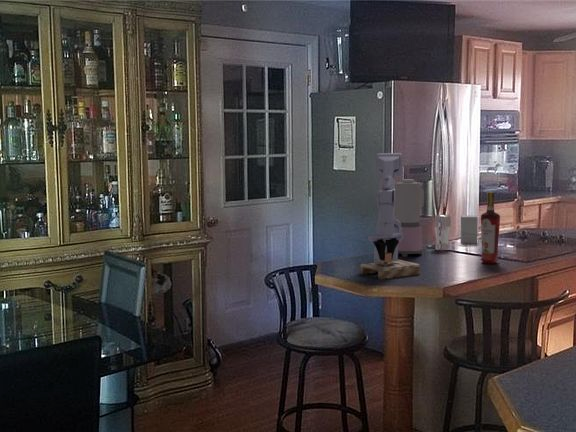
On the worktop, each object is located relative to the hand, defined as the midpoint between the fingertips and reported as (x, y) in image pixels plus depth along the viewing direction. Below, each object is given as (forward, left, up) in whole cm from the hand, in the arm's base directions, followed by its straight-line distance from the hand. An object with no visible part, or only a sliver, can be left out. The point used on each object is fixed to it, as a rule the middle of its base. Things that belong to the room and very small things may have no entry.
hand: (385, 259), depth 259 cm
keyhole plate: (0, +2, -6) cm, 6 cm away
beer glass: (-32, +55, -6) cm, 64 cm away
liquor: (+4, +48, -6) cm, 48 cm away
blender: (-30, +36, -6) cm, 47 cm away
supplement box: (-40, +79, -6) cm, 89 cm away
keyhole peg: (0, 0, -5) cm, 5 cm away
